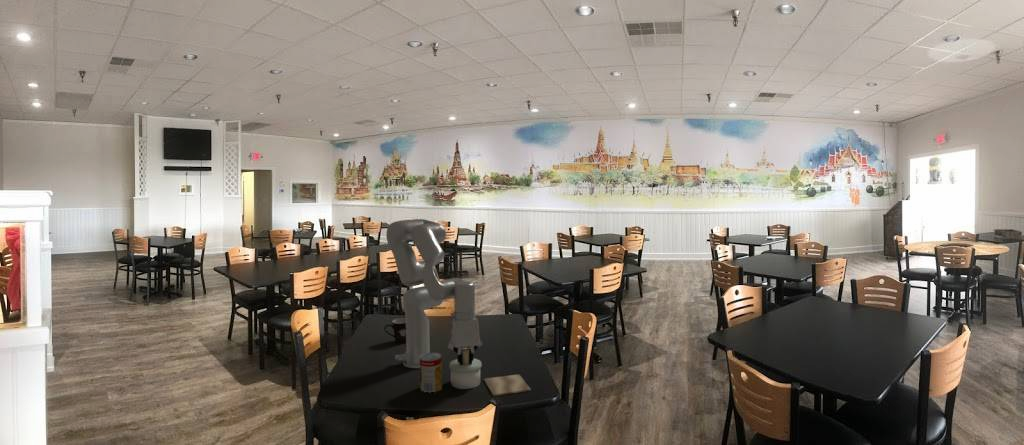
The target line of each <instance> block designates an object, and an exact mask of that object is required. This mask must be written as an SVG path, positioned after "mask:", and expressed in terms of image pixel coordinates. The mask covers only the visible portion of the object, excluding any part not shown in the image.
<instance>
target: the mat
mask: <svg viewBox="0 0 1024 445" xmlns="http://www.w3.org/2000/svg"><path fill="white" fill-rule="evenodd" d="M483 381H484V383H485V384H486V386H487V389H488V390H489V391H490V393H491V395H492V396H493V397H495V396H496V397H497V396H503V395H504V396H505V395H511V394H518V393H519V394H520V393H525V392H531V391H532V389H531V387H530V386H529V385H528V384H527V383H526V380H525V379H524V378H523V377H522V375H520V374H517V373H516V374H511V375H503V376H501V375H500V376H495V377H487V378H484V379H483Z"/></svg>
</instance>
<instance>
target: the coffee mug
mask: <svg viewBox="0 0 1024 445" xmlns="http://www.w3.org/2000/svg"><path fill="white" fill-rule="evenodd" d="M391 322H392V324H387V325H385V326H384V329H383V330H384V331H385V333H386V334H387V335H389V336H392V337H393V338H394V342H395V344H397V343H399V345H403V343H404V344H406V318H404V317H402V318H400V317H399V318H395V319H393V320H392V321H391ZM387 327H391V328H392V329H393V334H392V333H390V332H388V331H387V330H386V329H387Z"/></svg>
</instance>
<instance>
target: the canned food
mask: <svg viewBox="0 0 1024 445" xmlns="http://www.w3.org/2000/svg"><path fill="white" fill-rule="evenodd" d="M442 364H443V362H442V354H441V353H439V352H430V353H425V354H422V355H421V356H420V368H419V386H420V387H419V390H420V389H421V390H422V391H424V392H423V393H425V392H429V393H428V394H432V393H431V392H434V393H437V391H438V392H439V391H441V390H442V389H443V369H442V368H443V367H442V366H443V365H442ZM421 390H420V391H421ZM422 391H421V392H422Z"/></svg>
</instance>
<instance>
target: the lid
mask: <svg viewBox="0 0 1024 445" xmlns="http://www.w3.org/2000/svg"><path fill="white" fill-rule="evenodd" d="M469 350H470V348H469V347H462V348H461V354H462V365H460V363H459V362H458V358H456V359H453V360H451V361H450V362H449V364H448V365H449V369H450V371H451V370H452V371H454V372H459V373H468V372H474V371H477V370H479V369H480V370H481V368H482V366H483V364H482V361H481V360H480V359H477V358H474V357H473V361H472V364H470V361H469Z"/></svg>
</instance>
